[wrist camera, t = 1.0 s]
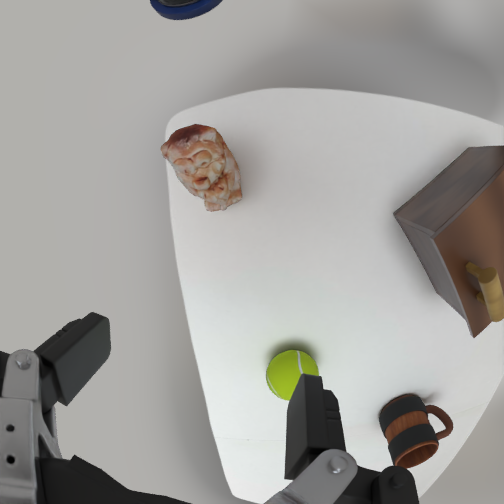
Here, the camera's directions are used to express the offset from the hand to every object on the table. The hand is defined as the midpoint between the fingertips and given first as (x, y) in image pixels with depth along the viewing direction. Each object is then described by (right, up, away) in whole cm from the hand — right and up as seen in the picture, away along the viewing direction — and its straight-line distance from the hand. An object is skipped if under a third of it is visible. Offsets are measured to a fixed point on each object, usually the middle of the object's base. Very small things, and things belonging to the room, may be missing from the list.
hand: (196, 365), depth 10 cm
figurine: (-1, +14, +22) cm, 26 cm away
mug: (+30, -23, +29) cm, 48 cm away
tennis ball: (+8, -11, +28) cm, 31 cm away
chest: (+30, +9, +20) cm, 37 cm away
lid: (+28, +5, +10) cm, 30 cm away
